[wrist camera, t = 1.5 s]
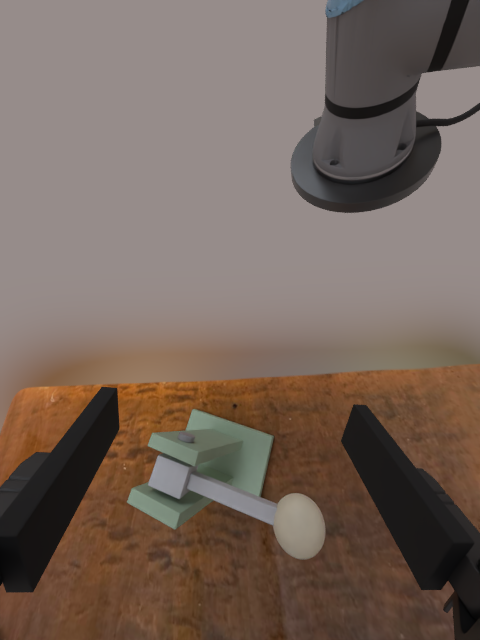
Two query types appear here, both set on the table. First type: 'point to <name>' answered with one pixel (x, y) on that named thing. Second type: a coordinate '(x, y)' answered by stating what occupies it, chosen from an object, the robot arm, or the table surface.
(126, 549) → the table surface
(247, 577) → the table surface
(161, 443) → the green lever stand
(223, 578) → the table surface
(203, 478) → the knob lever
